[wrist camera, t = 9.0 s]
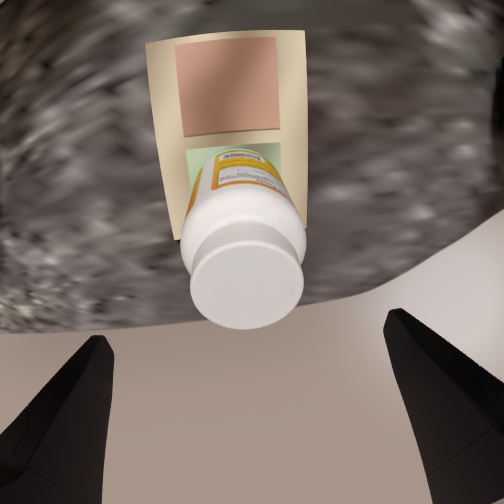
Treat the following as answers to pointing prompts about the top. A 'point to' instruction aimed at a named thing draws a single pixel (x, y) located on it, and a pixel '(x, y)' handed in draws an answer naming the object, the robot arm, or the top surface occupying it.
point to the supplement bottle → (243, 242)
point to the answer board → (229, 107)
